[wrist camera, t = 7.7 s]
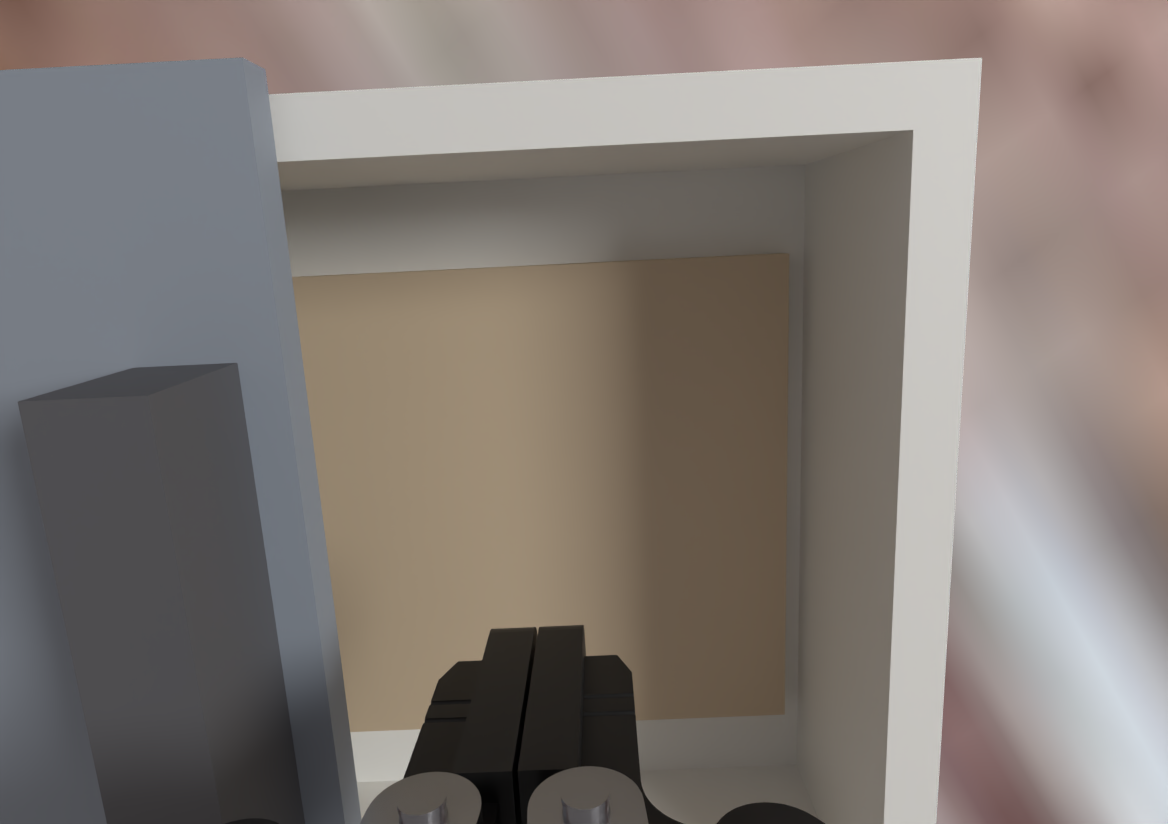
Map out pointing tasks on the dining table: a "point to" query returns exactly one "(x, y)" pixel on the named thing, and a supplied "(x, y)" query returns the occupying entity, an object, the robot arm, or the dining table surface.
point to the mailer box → (649, 406)
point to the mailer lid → (158, 463)
